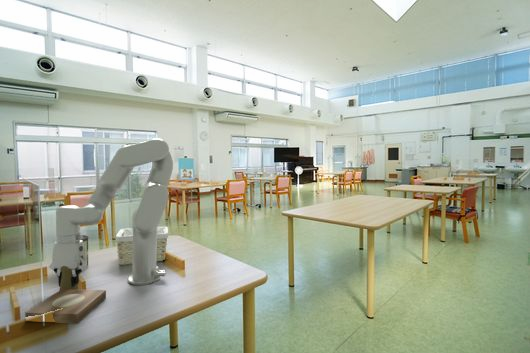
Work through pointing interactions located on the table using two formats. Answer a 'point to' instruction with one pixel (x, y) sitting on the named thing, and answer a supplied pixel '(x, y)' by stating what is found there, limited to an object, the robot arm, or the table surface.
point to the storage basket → (126, 241)
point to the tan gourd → (66, 278)
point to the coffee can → (85, 242)
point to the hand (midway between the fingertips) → (68, 284)
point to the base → (69, 304)
